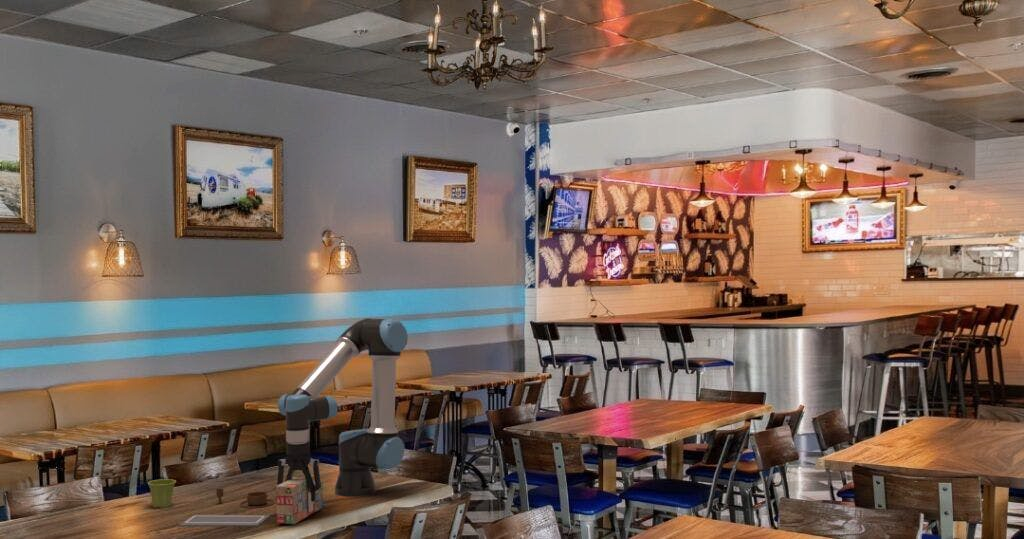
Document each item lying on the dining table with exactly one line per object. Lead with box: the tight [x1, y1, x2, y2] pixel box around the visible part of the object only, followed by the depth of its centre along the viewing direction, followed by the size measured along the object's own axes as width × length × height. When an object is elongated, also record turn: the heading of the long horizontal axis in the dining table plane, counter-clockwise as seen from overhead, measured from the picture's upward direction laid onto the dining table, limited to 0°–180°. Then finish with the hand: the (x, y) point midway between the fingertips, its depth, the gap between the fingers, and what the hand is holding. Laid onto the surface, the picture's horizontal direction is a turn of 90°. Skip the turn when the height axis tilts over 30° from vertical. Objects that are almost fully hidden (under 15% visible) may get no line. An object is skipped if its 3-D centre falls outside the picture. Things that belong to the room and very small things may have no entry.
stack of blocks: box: [275, 476, 324, 525], centre depth 324 cm, size 21×6×12 cm, turn 165°
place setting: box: [215, 488, 276, 509], centre depth 348 cm, size 18×20×6 cm
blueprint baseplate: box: [178, 514, 271, 528], centre depth 322 cm, size 26×13×1 cm, turn 86°
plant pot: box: [147, 478, 177, 509], centre depth 346 cm, size 9×9×9 cm
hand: (299, 511), depth 323 cm, fingers closed on stack of blocks, 7 cm apart
